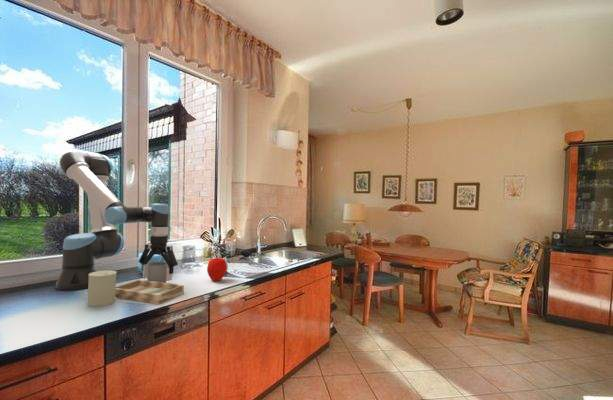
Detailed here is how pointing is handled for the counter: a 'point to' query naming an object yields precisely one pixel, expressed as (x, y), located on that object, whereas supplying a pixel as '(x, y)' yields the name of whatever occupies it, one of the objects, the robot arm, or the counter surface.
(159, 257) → the teapot
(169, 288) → the box
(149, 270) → the cup
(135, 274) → the counter surface
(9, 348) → the counter surface
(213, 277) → the apple
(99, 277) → the can
